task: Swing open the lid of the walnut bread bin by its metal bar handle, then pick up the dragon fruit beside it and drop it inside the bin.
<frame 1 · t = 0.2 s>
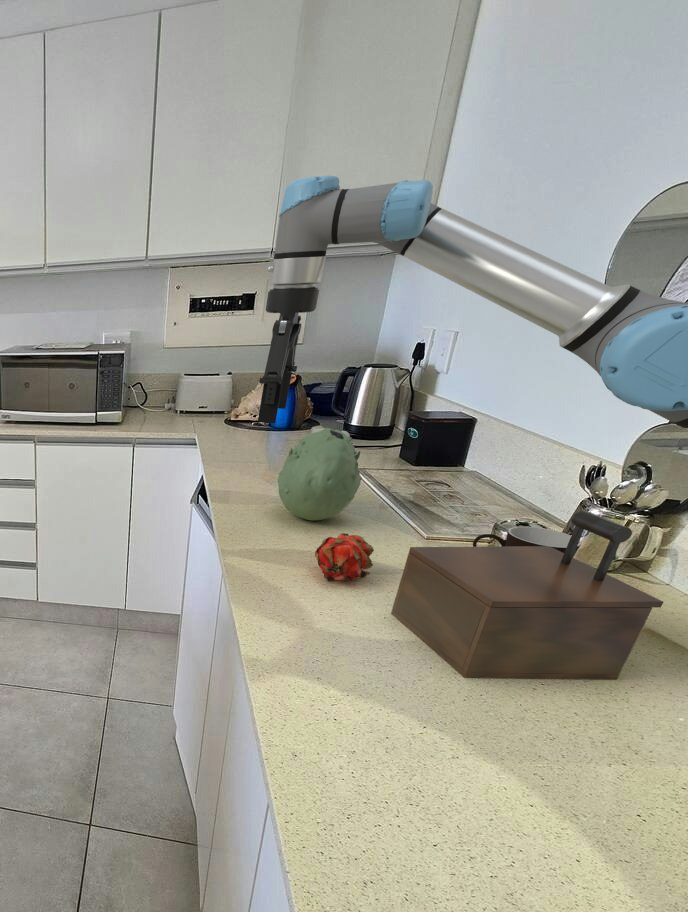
hand: (272, 415, 104), 27 cm above the table, tool pointing down, fingers open, 13 cm apart
bin lid: (532, 548, 77), point 15 cm above the table, hinge at 0.0°
green bumpy ovoid: (310, 518, 129), on the table
bread bin: (492, 643, 83), on the table
dragon fruit: (338, 577, 104), on the table
coffee mug: (511, 588, 98), on the table
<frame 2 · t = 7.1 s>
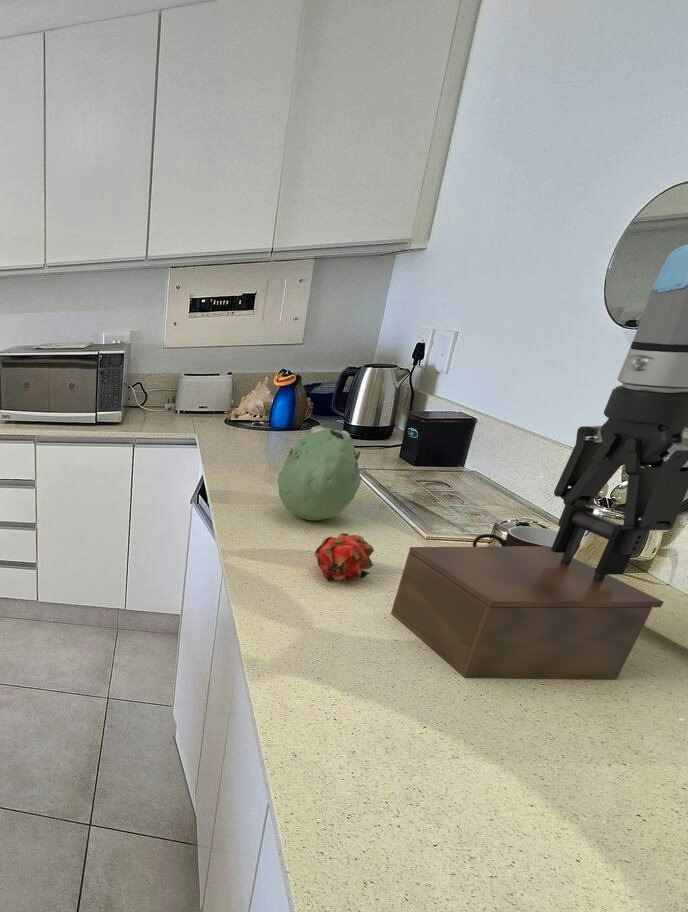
hand: (585, 561, 78), 13 cm above the table, tool pointing down, fingers closed on bin lid, 6 cm apart
bin lid: (532, 548, 77), point 15 cm above the table, hinge at 0.0°, touching gripper
everything else where it was.
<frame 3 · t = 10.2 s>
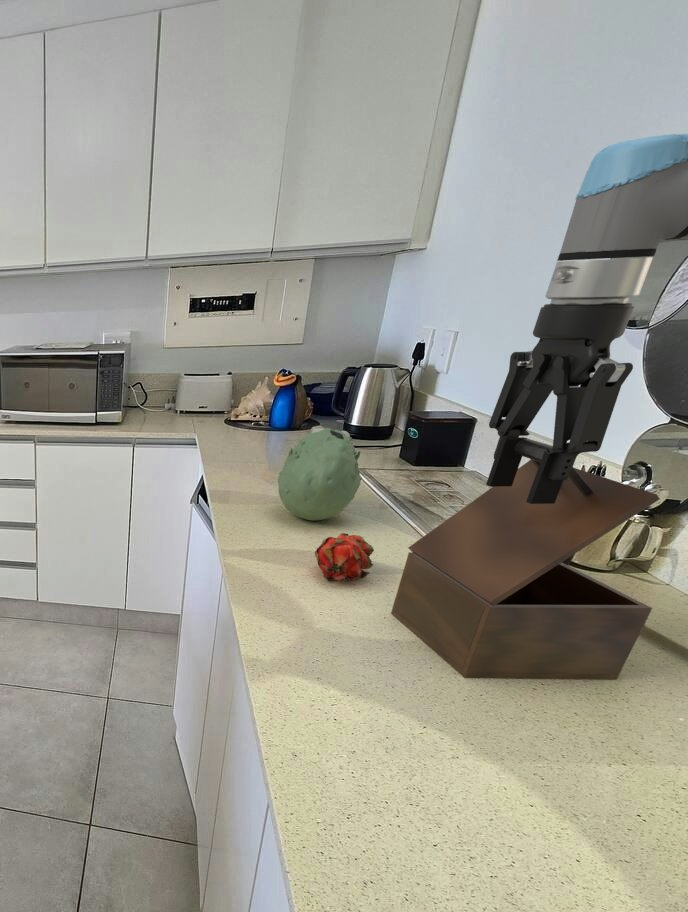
hand: (518, 493, 75), 23 cm above the table, tool pointing down, fingers closed on bin lid, 6 cm apart
bin lid: (500, 508, 76), point 21 cm above the table, hinge at 46.5°, touching gripper
everything else where it was.
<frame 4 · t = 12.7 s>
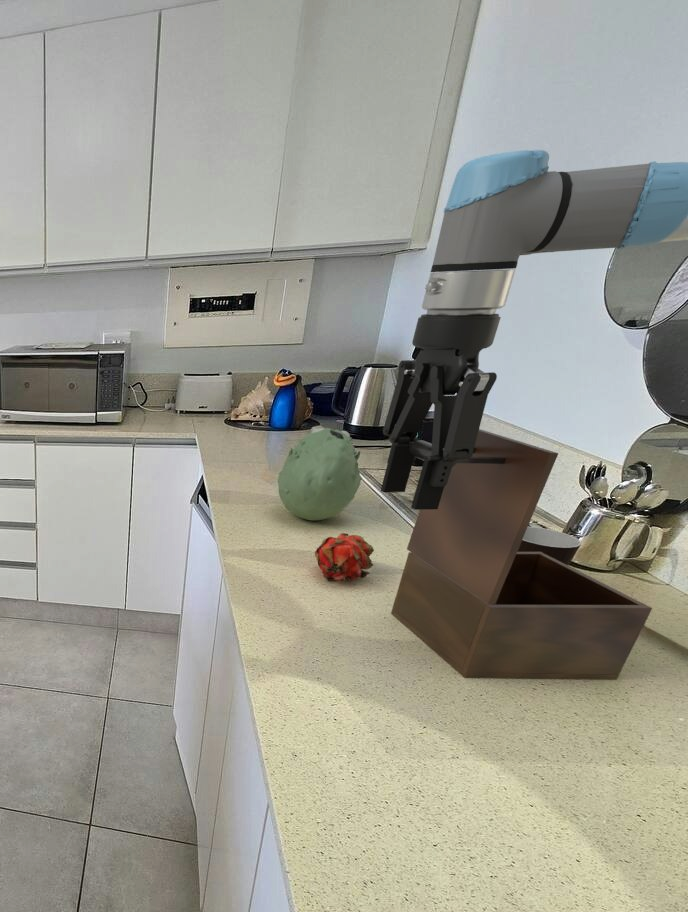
hand: (407, 499, 76), 22 cm above the table, tool pointing down, fingers closed on bin lid, 6 cm apart
bin lid: (440, 507, 76), point 21 cm above the table, hinge at 87.8°, touching gripper
everything else where it was.
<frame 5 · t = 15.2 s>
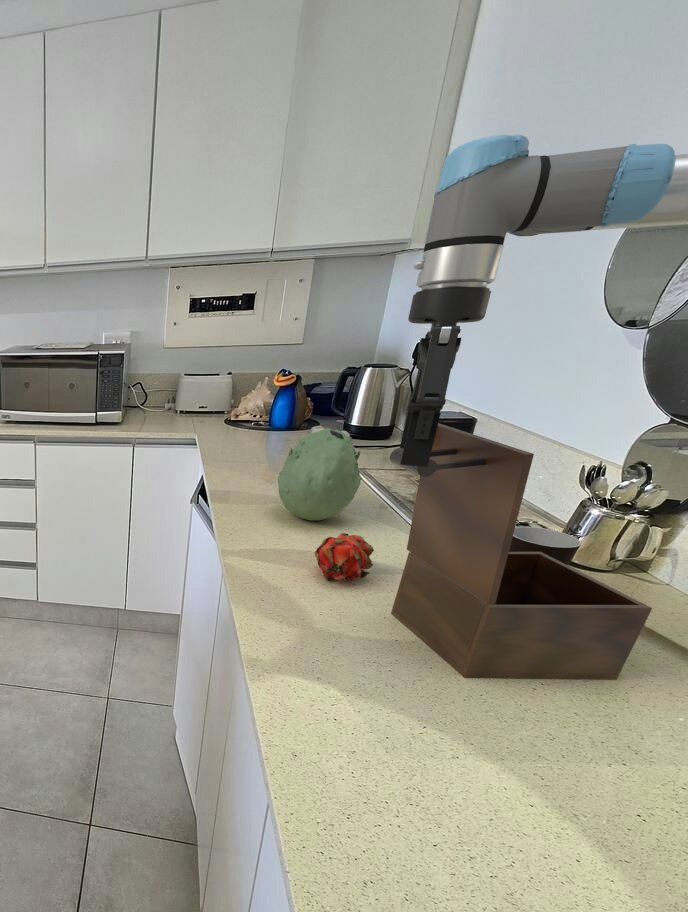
hand: (411, 460, 77), 27 cm above the table, tool pointing down
bin lid: (429, 511, 76), point 21 cm above the table, hinge at 95.3°, touching gripper
everything else where it was.
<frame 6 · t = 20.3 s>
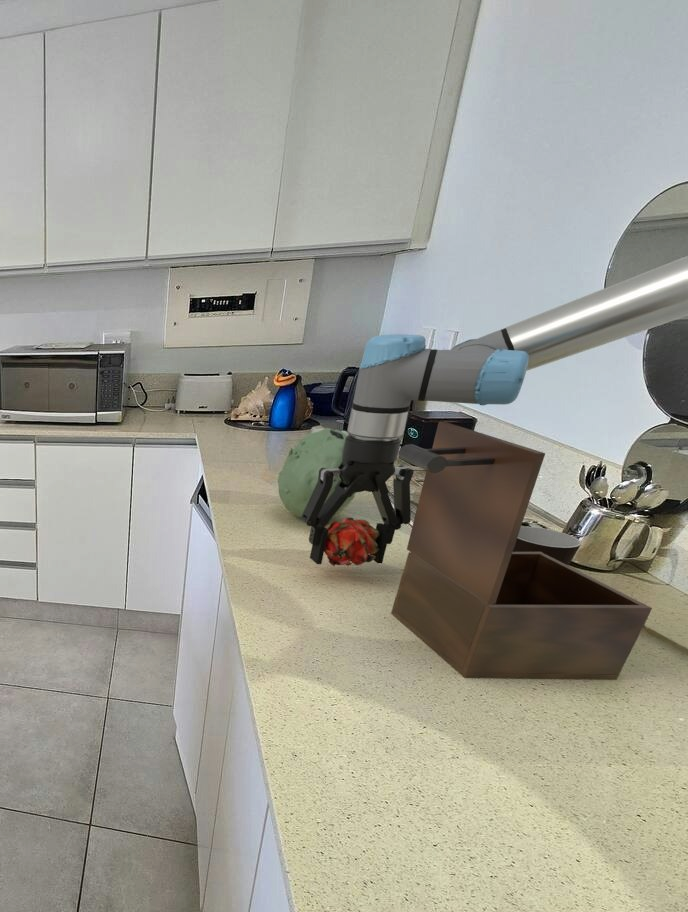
hand: (345, 560, 102), 3 cm above the table, tool pointing down, fingers closed on dragon fruit, 9 cm apart
bin lid: (434, 509, 76), point 21 cm above the table, hinge at 91.9°
dragon fruit: (344, 563, 102), point 3 cm above the table, touching gripper
everything else where it was.
when the fingers open (4 cm above the table, at t = 28.7 s): dragon fruit stays where it is, resting on bread bin.
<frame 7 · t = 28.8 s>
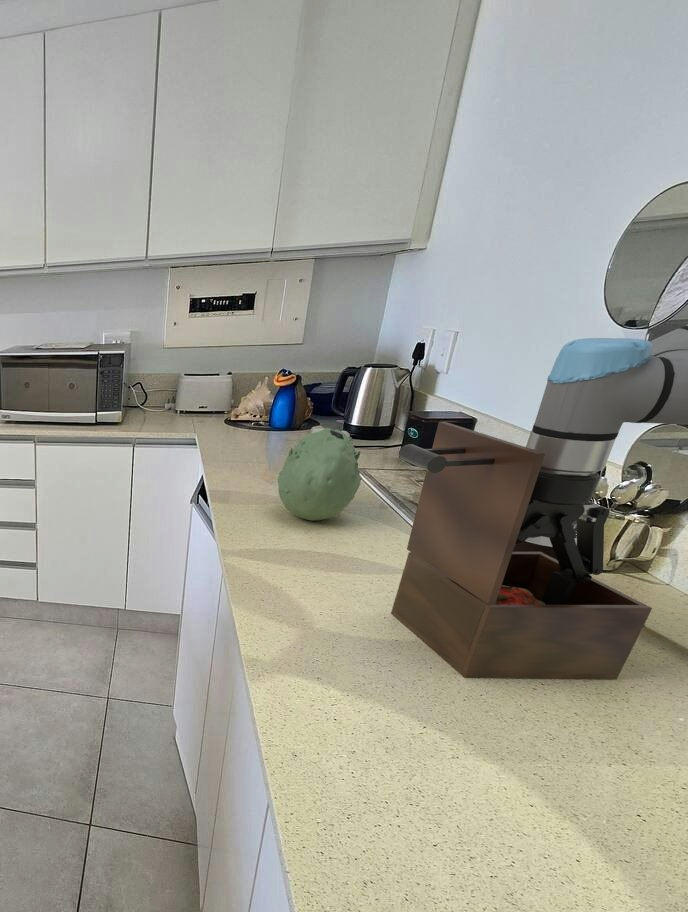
hand: (504, 617, 82), 4 cm above the table, tool pointing down, fingers open, 11 cm apart
bin lid: (434, 509, 76), point 21 cm above the table, hinge at 91.9°, touching gripper, hand
dragon fruit: (496, 640, 83), point 1 cm above the table, touching bread bin
everything else where it was.
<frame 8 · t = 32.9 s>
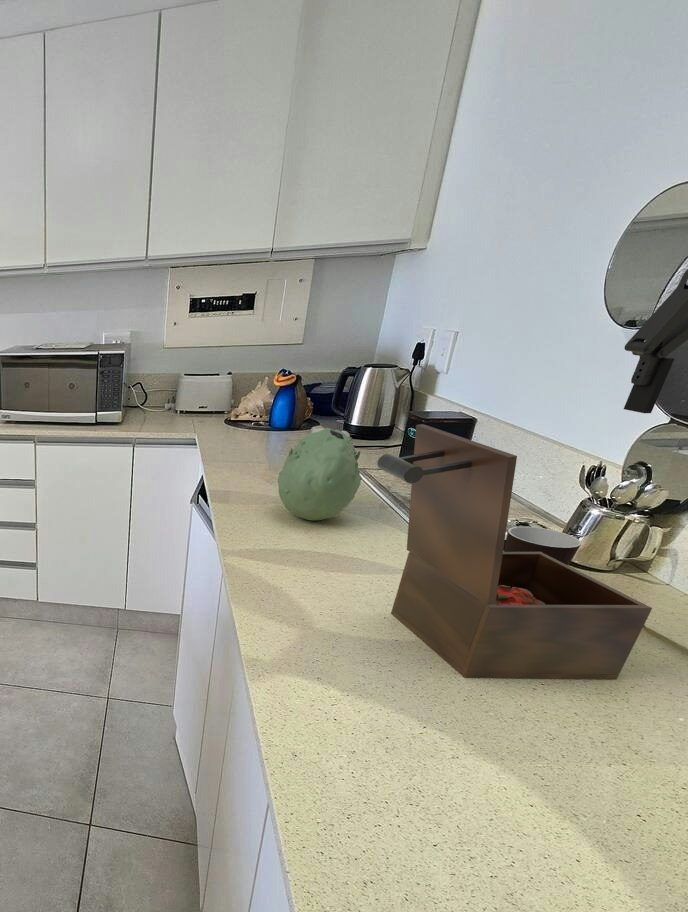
bin lid: (421, 514, 77), point 20 cm above the table, hinge at 100.3°
everything else where it was.
at the end: bin lid at +100° (first picture: +0°); dragon fruit inside the target area in the bread bin (0.2 cm from its centre), point 0.6 cm above the bread bin's base; the gripper is holding nothing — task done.
